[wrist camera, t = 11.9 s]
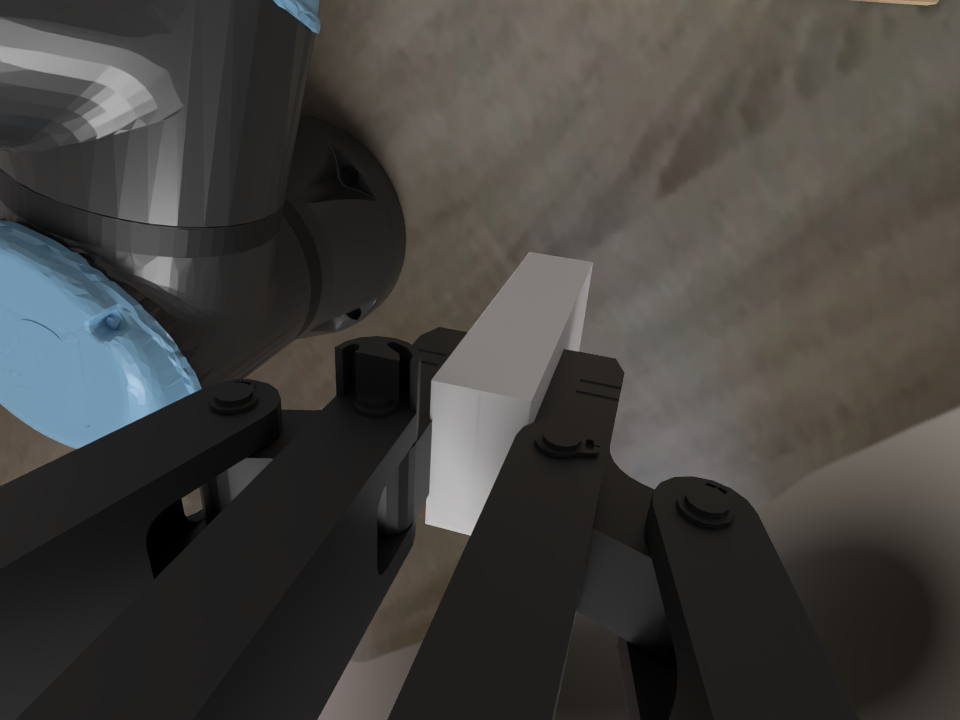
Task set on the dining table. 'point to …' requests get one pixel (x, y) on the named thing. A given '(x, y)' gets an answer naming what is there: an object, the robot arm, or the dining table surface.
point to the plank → (905, 1)
